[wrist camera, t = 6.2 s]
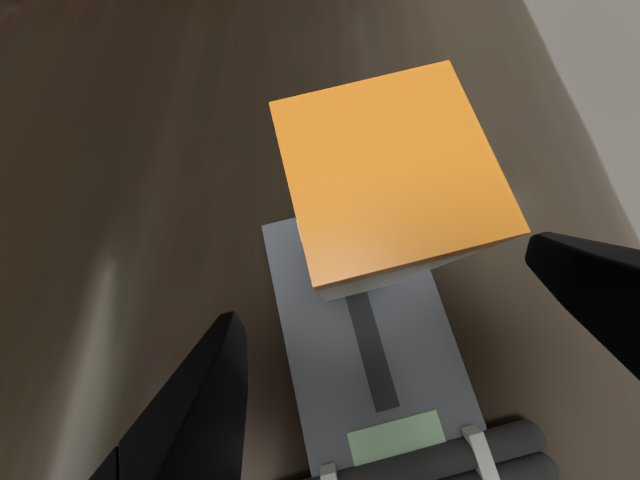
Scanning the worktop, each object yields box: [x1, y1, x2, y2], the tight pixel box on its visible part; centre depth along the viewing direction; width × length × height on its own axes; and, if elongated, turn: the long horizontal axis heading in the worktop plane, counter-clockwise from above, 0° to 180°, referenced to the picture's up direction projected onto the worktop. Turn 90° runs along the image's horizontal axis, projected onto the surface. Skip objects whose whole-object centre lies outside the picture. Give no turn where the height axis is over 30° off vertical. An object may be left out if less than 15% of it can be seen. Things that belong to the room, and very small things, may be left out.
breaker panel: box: [262, 217, 487, 478], centre depth 16 cm, size 15×10×1 cm, turn 14°
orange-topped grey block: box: [269, 60, 531, 302], centre depth 11 cm, size 4×4×12 cm
